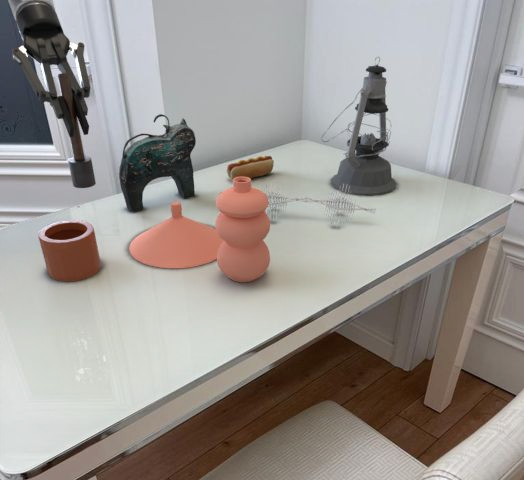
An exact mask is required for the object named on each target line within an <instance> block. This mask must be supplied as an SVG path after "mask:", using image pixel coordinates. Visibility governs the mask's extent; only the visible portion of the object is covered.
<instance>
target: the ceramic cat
mask: <svg viewBox="0 0 524 480" xmlns="http://www.w3.org/2000/svg"><path fill="white" fill-rule="evenodd" d="M161 117H164V118H165V119H166V120H167V124H163V125H162V126H163V128H164V129H165V132H164V133H163V134H159V135H157V134H149V133H138V134H136V135H134V136H132V137H130V138H129V139H128V140H126V142H125V143H124V146H123V148H122V155H121V156H122V157H121V160H120V164H119V167H118V168H119V170H118V171H119V172H118V179H119V184H120V189H121V192H122V196H123V198H124V202H125V206H126V209H127V210H128V211H130V212H131V213H135V212H138V211H142V210H143V209H144V202H143V200H144V199H143V197H144V191H145V189H146V187H147V185H149V183H151V182H152V181H155V180H156V179H160V178H167V177H171V178H172V179H173V182H174V184H175V186H176V189H177V193H178V195H179V196H180V197H181V198H183V199H187V198H189V197H194V196H195V195H196V194H195V180H194V178H195V177H194V167H193V162H192V158H191V154H192V152H193V150H194V149H195V147H196V143H197V142H196V140H197V139H196V134H195V132H194V130H193V129H192V128H191V127H189V125H188V123H187V121H186V119H185V118H183V117H182V118H181V120H180V123H177V124H174V125H170V119H169V118H168V116H166V115H165V114H162V113H159V114H157V115H155V116H154V118H153V123H156V121H157V120H158V119H159V118H161ZM141 136H142V137H143V136H146V137H144V138H142V139H139V140H136V141H134V142H132V143H131V144H130V146H128V145H129V143H130V142H131V141H133V140H134V139H137V138H139V137H141ZM127 146H128V147H127Z"/></svg>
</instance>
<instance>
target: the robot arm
mask: <svg viewBox="0 0 524 480" xmlns="http://www.w3.org/2000/svg"><path fill="white" fill-rule="evenodd" d="M7 2H8V5H9V7H10V9H11V13H12V15H13V18H14V20H15V23H16V26H17V29H18V32H19V34H20V36H21V40H22V45H21V46H20V47H18V46H14V47H12V51H11V52H12V60H13V61H14V62H15V63H16V64H17V65H18V66H19V68H21V70H22V72H23V74H24V76H25V78H26V79H27V81H28V83H29V85H30V86H31V88H32V90H33V93H34V94H35V95H36V98H37V99H38V101H39V102H40V103H41V104H42V103H43V104H44V103H48V104H49V105H50V107H52V109H53V112H54V114H55V117H56V119H57V120H62V121H63V123H64V127H65V129H66V132H67V135H68V137H69V138H70V137H74V126H73V123H72V120H71V118H70V115H69V112H68V110H67V107H66V104H65V102H64V99H63V96H62V95H58V92H57V88H56V84H55V81H54V76H53V72H52V68H51V66H52V65H54V66H56V67H57V69H58V71H59V72H60V74H62V73H67V74H69V76H70V82H71V87H72V92H73V98H74V103H75V108H76V114H77V119H78V124H79V127H80V128H81V130H82V134H83V135H84V136H86V135H89V132H90V131H89V130H90V124H89V122H88V119H87V116H88V112H89V107H88V105H87V102H86V99H88V98H90V95H91V83H90V79H89V78H90V77H89V73H88V70H87V66H86V59H85V55H84V54H85V44H84V43H83V42H80V41H79V42H78V43H73V42H71V41H70V38H68V37H67V36H66V34H65V31H64V29H63V27H62V25H61V22H60V21H61V20H60V19H59V16H58V14H57V12H56V8H55V5H54V3H53V1H52V0H7ZM69 51H70V52H71V55H72V57H73V58H74V59H75V65H76V70H77V75H78V79H79V81H78V79H77V77H76V75H75V74H74V71H73V70H72V68H71V66H70V64H69V61H68V58H67V56H68V54H69ZM28 56H29V57H31V58H32V59H33V60H34V61H36V62H37V63H38V64H39V67H40V70H41V73H42V77H43V81H44V84H45V87H44V85H43V83H42V82H41V80H40V78H39V76H38V74H37V72H36V70H35V68H34V67H33V66H32V63H31V61H30V60H29V57H28ZM45 88H46V89H45ZM85 98H86V99H85Z"/></svg>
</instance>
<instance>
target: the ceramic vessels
mask: <svg viewBox="0 0 524 480" xmlns="http://www.w3.org/2000/svg"><path fill="white" fill-rule="evenodd" d="M269 202H270V200H269V199H268V197H267V195H266V192H264V191H263V190H262V189H261V190H260V188H256V187H253V186H252V178H249V177H236V178H234V179H233V180H232V187H229V188H226V189H224V190H223V191H222V192H220V193H219V194H218V196H217V197H216V202H215V206H216V208H217V209H218V211H219V213H218V215H217V216H216V219H215V225H214V226H215V227H212V226H210V225H207V224H204V223H202V222H200V221H196V220H193V219H191V218H189V217H186V216H184V215H183V213H182V210H183V207H182V203H181V202H180V201H172V202H171V203H170V212H171V216H169V218H167V219H165V220H163V221H161V222H159V223H157V224H156V225H154V226H153V227H150V228H149V229H147V230H146V231H144V232H142V233H140V234H138V235H137V236H135V237H134V238H133V240H132V241H131V242H130V245H129V246H128V251H129V253H130V255H131V257H133V259H135V260H136V261H138V262H140V263H142V264H144V265H146V266H149V267H150V266H151V267H155V268H161V269H186V268H194V267H198V266H202V265H206V264H209V263H211V262H213V261H215V260H216V262H217V267H218V268H219V270H220V272H221V273H222V274H223V275H225V276H226V277H227V278H229V279H231V280H233V281H235V282H238V283H251V282H253V281H255V280H257V279H258V278H260V277H262V276H263V275H264V274H265V273H266V271H268V269H269V267H270V262H271V253H270V250H269V247H268V245H267V244H266V242H265V241H264V240H265V239H266V238H267V236H268V234H269V232H270V230H271V219H270V216H269V214H268V215H267V209H268V208H269ZM265 210H266V212H265Z"/></svg>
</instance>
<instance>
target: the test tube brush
mask: <svg viewBox="0 0 524 480" xmlns="http://www.w3.org/2000/svg"><path fill="white" fill-rule="evenodd" d="M270 180H271V181H270V183H271V184H270V186H267V185H268V184H267V185H266V186H265V194H266V195H267V197H268V200H269V205H268V207H269V209H270V210H269V212H267V209H266V210H265V212H266V214H267V215H268V216H269V219H270V220H272V219H273V220H272V223H273V224H274V221H275V220H277V216H278V217H280V215H277V214H278V209H281V210H280V212H282V213H284V209H285V213H286V211H287V208H284V207H285V206H288V204H287V203H291V202H296V201H297V202H303V203H318V204H322V205H324V206H325V208H327V209H328V210H329V212H328V210H327V209H325V210H324V211H325V212H326V213H328V214H326V213H324V214H323V215H324V216H325V215H326V217H327V218H329V216H330V218H329V220H331V225H333V228H335V223H336V220H338V221H337V224H336V227H339V226H340V227H341V226H342V224H344V222H347V221H348V219H350V218H351V220H352V217H351V216H353V214H354V212H355V211H365V212H368V213H370V214H374V215H375V214H376V211H377V208H372V207H371V208H370V207H369V208H367V207H363V206H360V205H358V204H356V200H355V198H351V199H350V197H355V196H356V195H355V194H351V192H350V193H346V190H345V192H344V196H342V194H343V192H342V191H343V188H342V191H340V189H339V190H338V189H335V190H334V192H333V193H331V195H330V192H329V193H328V195H330V196H328V199H314V198H312V197H309V196H303V197H299V198H297V197H295V198H294V197H290V196H286V195H282V194H280V193H281V187H279V185H278V184H279V182H278V181H277V183H274V187H273V185H272V184H273V179H270ZM276 186H277V187H276ZM267 187H268V188H267ZM272 187H273V189H272ZM278 187H279V190H278ZM340 187H341V186H340ZM343 187H344V184H343ZM346 188H347V186H346ZM349 188H350V186H349ZM267 191H268V192H267ZM278 191H279V192H278ZM335 191H336V193H335ZM277 192H278V193H279V194H277ZM338 192H341V193H338ZM348 192H349V190H348ZM337 193H338V194H337ZM346 194H347V195H346ZM339 195H340V196H339ZM334 196H335V197H334ZM332 197H334V198H332ZM345 197H346V198H345ZM348 197H349V198H348ZM352 200H353V201H352ZM354 200H355V201H354ZM282 208H283V209H282ZM272 209H275V210H276V211H275V210H273V211H272ZM326 210H327V211H326ZM330 212H331V214H330ZM271 213H272V214H273V215H272V214H271ZM347 214H351V215H347ZM271 215H272V216H271ZM338 215H339V216H338ZM346 215H347V216H346ZM334 216H335V217H334ZM337 216H338V219H337ZM271 217H272V219H271ZM340 218H343V219H341V221H340ZM346 218H348V219H346ZM345 219H346V220H345ZM333 220H334V222H333ZM343 220H345V221H343ZM339 222H340V225H339Z"/></svg>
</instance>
